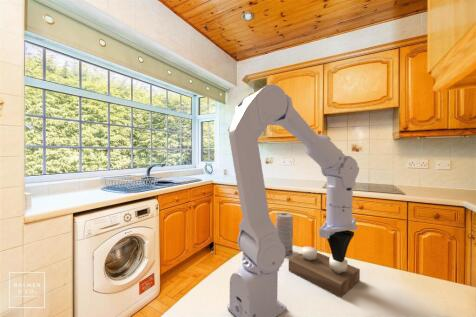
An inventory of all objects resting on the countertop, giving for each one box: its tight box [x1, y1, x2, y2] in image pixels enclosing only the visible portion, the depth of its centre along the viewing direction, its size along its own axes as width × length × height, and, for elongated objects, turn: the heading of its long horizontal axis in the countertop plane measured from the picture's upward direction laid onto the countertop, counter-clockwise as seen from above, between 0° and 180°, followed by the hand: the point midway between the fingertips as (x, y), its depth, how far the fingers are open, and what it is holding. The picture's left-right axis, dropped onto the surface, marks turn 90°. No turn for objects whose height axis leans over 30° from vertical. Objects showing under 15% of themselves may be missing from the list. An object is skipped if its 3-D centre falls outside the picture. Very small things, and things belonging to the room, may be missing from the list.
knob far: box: [301, 246, 318, 261], centre depth 58 cm, size 4×4×5 cm
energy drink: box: [275, 212, 294, 256], centre depth 69 cm, size 5×5×12 cm
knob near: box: [329, 256, 348, 274], centre depth 52 cm, size 4×4×5 cm
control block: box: [288, 252, 361, 299], centre depth 55 cm, size 10×14×3 cm
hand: (338, 260), depth 52 cm, fingers closed, pressing on knob near
